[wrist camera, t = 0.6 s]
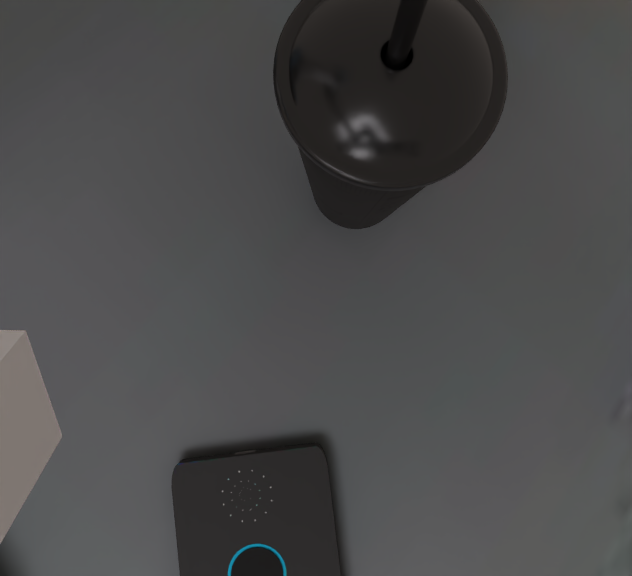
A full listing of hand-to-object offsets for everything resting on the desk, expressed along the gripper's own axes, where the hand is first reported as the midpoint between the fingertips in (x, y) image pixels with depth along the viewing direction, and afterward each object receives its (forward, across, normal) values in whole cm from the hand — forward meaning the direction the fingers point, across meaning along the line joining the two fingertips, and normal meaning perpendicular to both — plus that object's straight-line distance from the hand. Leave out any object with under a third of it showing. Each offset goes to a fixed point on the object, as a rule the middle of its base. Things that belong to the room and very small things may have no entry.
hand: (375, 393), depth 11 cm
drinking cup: (+22, 0, -5) cm, 23 cm away
